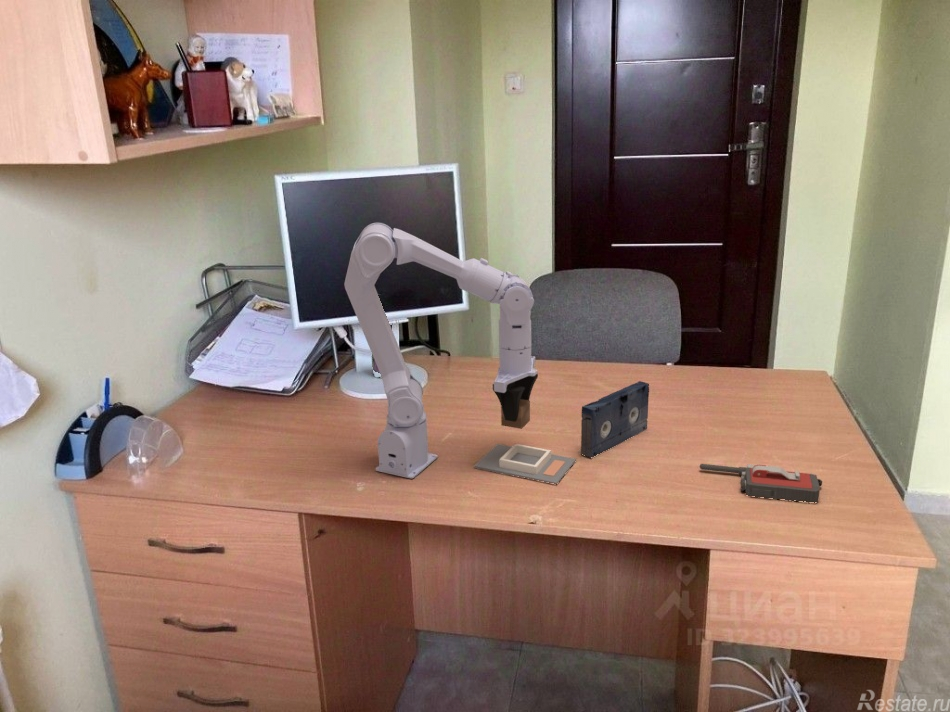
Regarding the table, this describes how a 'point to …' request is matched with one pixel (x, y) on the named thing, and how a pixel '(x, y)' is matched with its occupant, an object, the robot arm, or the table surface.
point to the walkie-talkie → (774, 482)
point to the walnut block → (522, 416)
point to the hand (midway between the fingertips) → (515, 415)
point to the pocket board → (526, 462)
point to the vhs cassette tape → (614, 419)
